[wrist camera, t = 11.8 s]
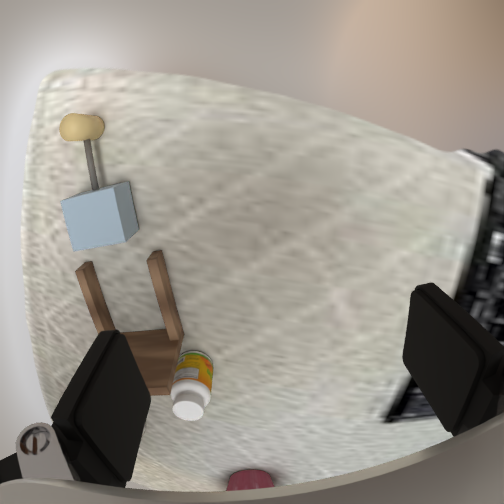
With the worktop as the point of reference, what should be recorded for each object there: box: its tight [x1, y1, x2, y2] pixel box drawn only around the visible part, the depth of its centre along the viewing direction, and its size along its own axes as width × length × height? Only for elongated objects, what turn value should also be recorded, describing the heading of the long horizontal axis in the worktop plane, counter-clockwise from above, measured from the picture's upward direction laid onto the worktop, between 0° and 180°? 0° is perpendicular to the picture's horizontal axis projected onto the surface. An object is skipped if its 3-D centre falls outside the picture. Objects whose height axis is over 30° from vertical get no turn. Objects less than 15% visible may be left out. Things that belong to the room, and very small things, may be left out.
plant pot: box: [226, 470, 274, 491], centre depth 50 cm, size 14×14×13 cm
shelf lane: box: [75, 250, 184, 396], centre depth 34 cm, size 12×11×12 cm
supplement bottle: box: [171, 351, 213, 421], centre depth 39 cm, size 5×5×10 cm
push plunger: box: [59, 113, 139, 251], centre depth 31 cm, size 15×7×6 cm, turn 8°
